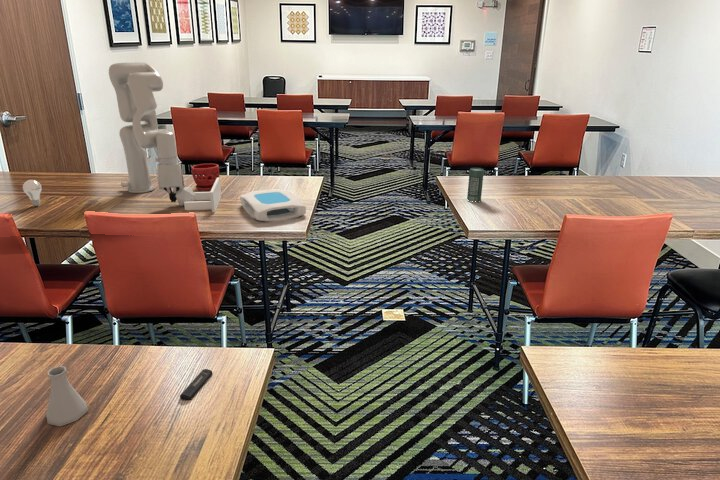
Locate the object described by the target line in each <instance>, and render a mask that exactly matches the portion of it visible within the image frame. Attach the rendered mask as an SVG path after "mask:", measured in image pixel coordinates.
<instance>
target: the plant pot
mask: <svg viewBox="0 0 720 480" xmlns="http://www.w3.org/2000/svg"><path fill="white" fill-rule="evenodd" d="M190 167H191V168H190V169H191V175H192V178H193V181H194V183H195V184H196V185H195V189H196V190H197V191H198V192H210V191H211V189H212V187H213V185H214V183H215V181H216V179H217V178H219V177H220V166H219V164H217V163H200V164H196V165H193V166H190Z"/></svg>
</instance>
